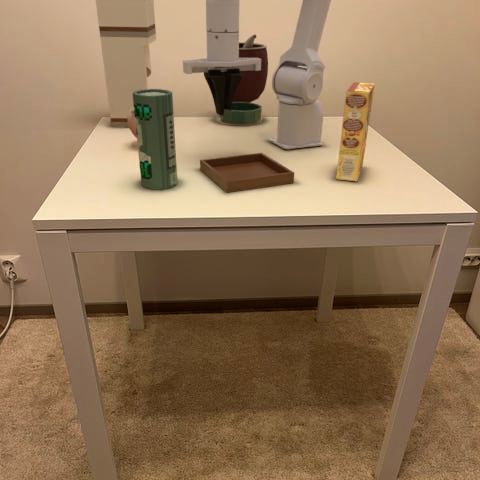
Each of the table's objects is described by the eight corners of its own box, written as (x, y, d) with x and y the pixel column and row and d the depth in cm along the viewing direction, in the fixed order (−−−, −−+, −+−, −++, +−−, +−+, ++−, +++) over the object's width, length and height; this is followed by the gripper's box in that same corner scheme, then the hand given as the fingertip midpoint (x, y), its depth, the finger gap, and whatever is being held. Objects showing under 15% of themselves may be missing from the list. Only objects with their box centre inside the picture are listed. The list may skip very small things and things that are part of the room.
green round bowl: (250, 114, 100) (250, 100, 99) (268, 123, 94) (268, 109, 93) (213, 117, 98) (213, 103, 96) (229, 126, 92) (229, 112, 90)
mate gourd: (205, 116, 131) (203, 29, 120) (252, 112, 136) (254, 28, 124) (226, 130, 120) (226, 35, 108) (277, 125, 124) (282, 33, 113)
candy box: (357, 182, 90) (371, 91, 81) (334, 179, 91) (346, 89, 82) (362, 168, 97) (376, 83, 88) (341, 165, 98) (352, 81, 89)
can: (145, 177, 91) (137, 88, 82) (178, 178, 90) (173, 89, 82) (139, 189, 86) (129, 95, 77) (174, 190, 85) (168, 96, 77)
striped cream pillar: (155, 127, 120) (141, -52, 100) (111, 126, 120) (89, -53, 100) (161, 116, 130) (150, -49, 110) (121, 116, 130) (102, -50, 110)
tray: (261, 162, 99) (261, 152, 98) (293, 182, 89) (294, 172, 88) (200, 169, 95) (199, 159, 94) (226, 192, 85) (226, 181, 84)
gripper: (250, 28, 92) (248, 106, 99) (176, 30, 87) (179, 112, 94) (267, 32, 86) (264, 114, 94) (189, 33, 81) (192, 120, 89)
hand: (222, 113), depth 94 cm, fingers closed on green round bowl, 1 cm apart
